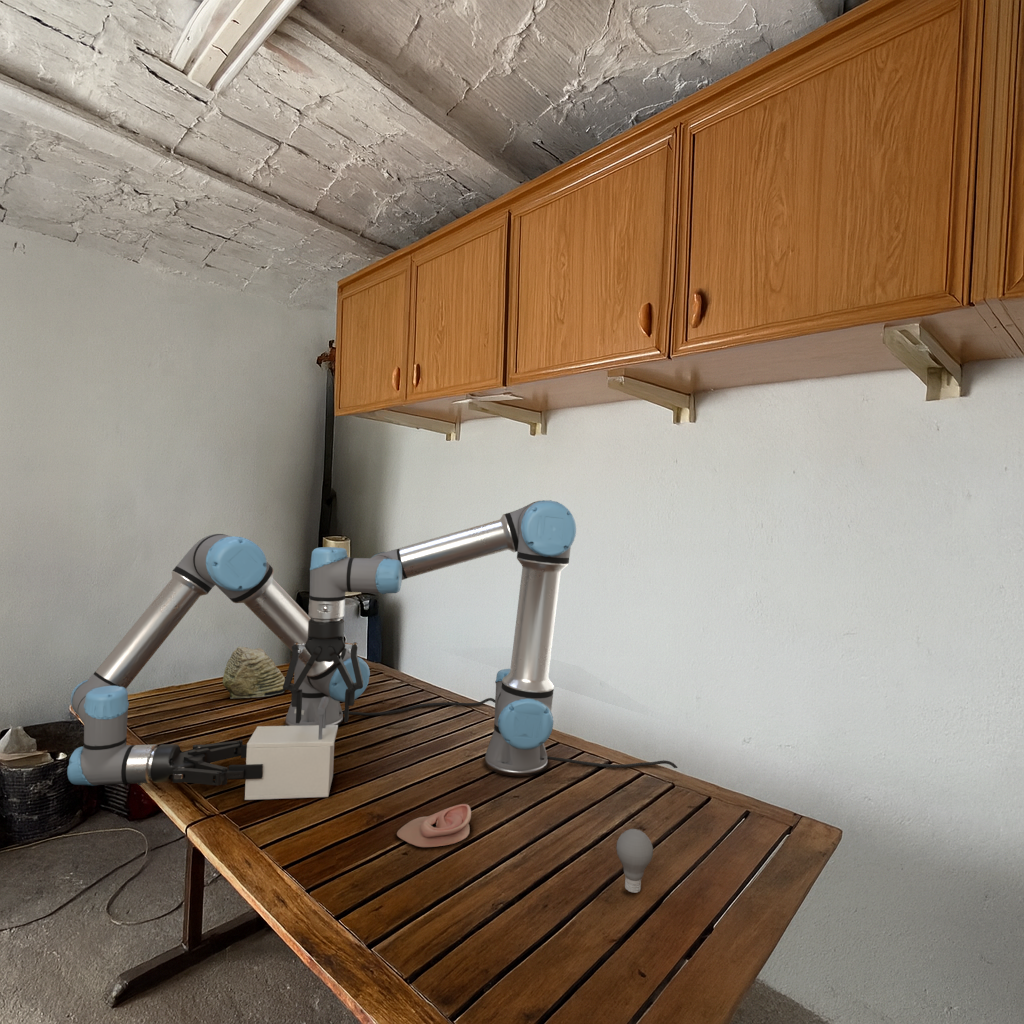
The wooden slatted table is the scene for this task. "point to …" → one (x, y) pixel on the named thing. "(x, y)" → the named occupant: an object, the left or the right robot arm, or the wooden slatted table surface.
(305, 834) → the wooden slatted table surface
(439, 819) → the anatomical model
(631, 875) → the light bulb
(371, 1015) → the wooden slatted table surface
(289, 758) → the chest
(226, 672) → the fossil
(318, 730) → the lid
